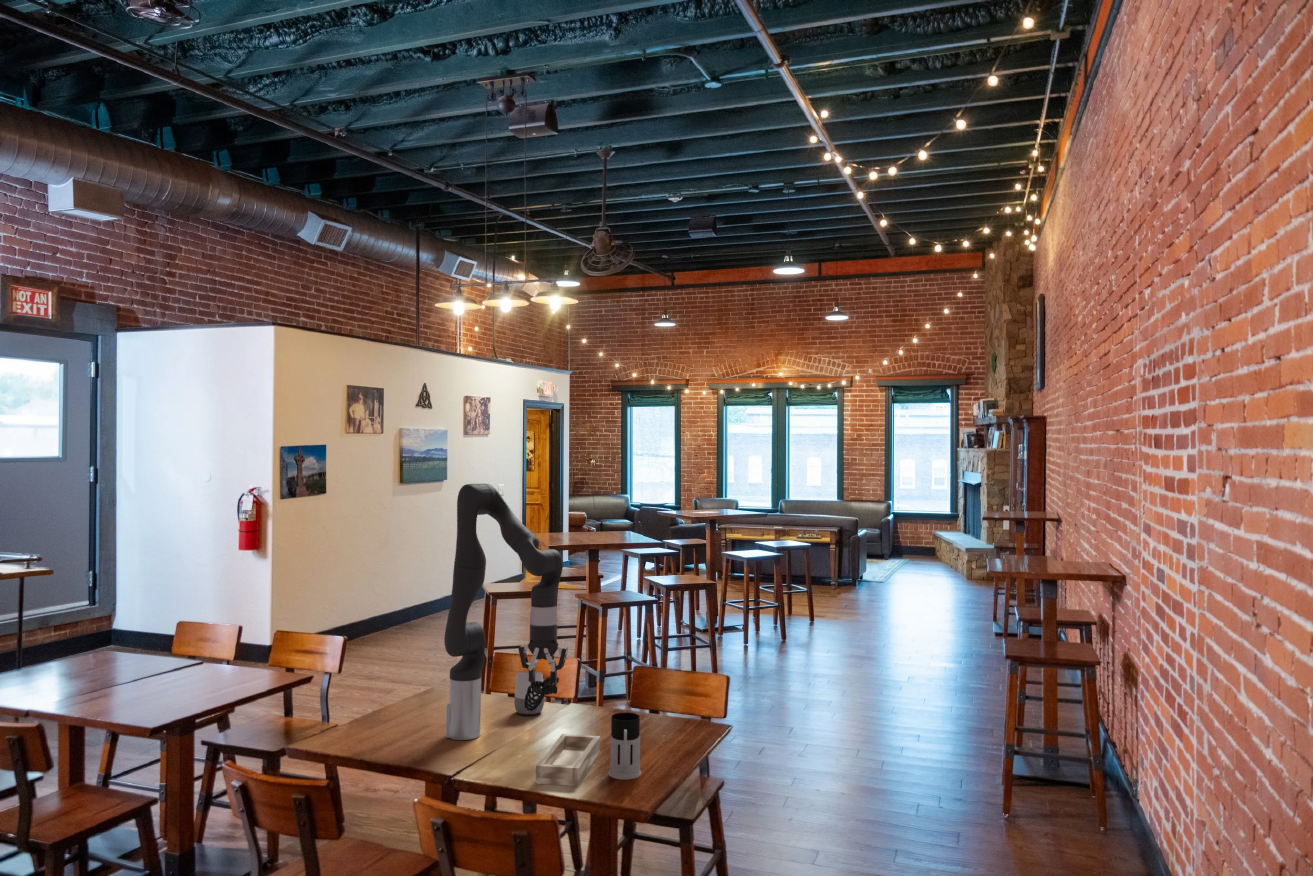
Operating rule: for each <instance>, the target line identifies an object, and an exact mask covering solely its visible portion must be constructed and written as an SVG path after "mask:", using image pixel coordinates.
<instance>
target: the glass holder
mask: <svg viewBox="0 0 1313 876" xmlns="http://www.w3.org/2000/svg"><path fill="white" fill-rule="evenodd" d="M610 718H611V719H610V720H611V724H610V725H611V726H610V727H611V730H610V739H609V740H610V743H609V745H610V748H609V750H610V752H609V770H608V776H609V777H610V778H613V779H615V780H616V779H617V780H633V779H637V778H639V777H641V776H642V771H641V768H640V767H641V766H640V765H641V732H640V728H641V727H640V722H641V720H640V719H641V716H640V715H639V714H638V713H633V712H618V713H617V712H616V713H614V714H612V715H611V717H610Z"/></svg>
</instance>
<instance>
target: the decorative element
mask: <svg viewBox="0 0 1313 876" xmlns="http://www.w3.org/2000/svg"><path fill="white" fill-rule="evenodd" d="M559 681H560V678H559V677H558V676H557V681H556V682H555V683H554V685H550V676H547V677H546V678H545V679H543V682H542V681H539V682H538V681H536V682H535V680H533V681H532V683H531V685H530V686H529V687H528V689H527V694H526V695H525V702H524V705H525V708H527V710H530V711H533V710H535V709H536V708H537V707H538V706H539V705H540V703H541V702H542V700H543V698H544V699H545V696H548V695H551V694H554V695H557V694H558V685H557V684H558V683H559ZM541 686H542V688H541ZM531 688H532V691H531ZM534 692H535V693H536V694H534ZM530 694H532V695H533V697H531V695H530ZM538 694H541V695H538ZM528 696H529V699H528ZM536 696H537V697H538V699H536V700H535V699H534V697H536ZM530 700H533V701H534V702H531V701H530ZM528 702H529V703H530V704H528ZM531 705H534V706H531ZM528 706H529V707H530V708H529V707H528Z"/></svg>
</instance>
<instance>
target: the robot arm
mask: <svg viewBox="0 0 1313 876" xmlns="http://www.w3.org/2000/svg"><path fill="white" fill-rule="evenodd" d="M456 501H457V502H456V525H457V526H456V541H455V542H456V545H455V555H454V563H453V571H452V573H453V574H452V586H451V587H452V589H451V596H450V605H449V610H448V615H447V620H446V625H445V631H444V649H445V651H446V653H447V655H449V656H450V657H452V658H453V657H455V658H457V657H461V659H460V660H459V661H457V663H456V664H455V665H453V666H452V667H451V668H450V670H449V692H448V693H449V697H448V699H449V700H448V701H449V702H448V704H447V705H446V720H445V721H446V723H445V725H446V727H445V728H446V730H445V736H446V737H445V738H448V739H451V740H454V741H455V740H456V741H467V740H468V741H469V740H475V739H477V738H479V737H480V736H481V728H482V727H481V722H482V721H481V720H482V719H481V716H482V715H481V714H482V713H481V712H482V671H483V668H484V666H485V665H484V664H485V654H486V653H485V652H486V651H485V650H486V634H485V630H484V627H482V625H481V624H480V623H478V622H477V621H472V622H467V621H468V620H467V619H468V614H469V611H470V609H471V606H472V605H473V602H474V601H475V600H476V597H477V596H478V595H479V593H480V591H481V589H482V588H483V585H484V583H485V578H486V577H485V576H486V570H487V569H486V568H487V567H486V566H487V558H486V554H485V552H484V549H483V547H482V544H481V542H480V540H479V537H478V535H477V534H478V533H477V523H478V522H477V519H478V516H480V515H481V516H482V515H488V516H490V517H491V518H492V519H494V520H495V521H496V523H498V525H499V529H500V533H501V537H502V538H503V540H504V541H505V543H506V544H507V545H508V546H509V547H510V548H511V549H512V550H513V551H514V552H515V553H516V554H517V555H518V557H519V559H520V562H521V563H522V565H523V567H524V569H525V570H526V572H528V573H529V574H530V575H532V576H533V577H534V576H535V577H541V578H540V581H539V582H538V583H536V584H534V585H533V586H532V587H531V593H530V597H531V599H530V600H531V601H530V602H531V603H530V604H531V606H530V610H529V611H530V612H529V642H528V644H526V645H524V644H522V645H519V647H518V653H519V657H520V658H519V659H520V662H521V666H522V668H523V669H527V671H528V672H529V682H531V683H532V681H533V680H535V672H536V669H535V668H536V665H537V663H538V661H539V660H545V661H547V664H548V665H549V667H550V674H549V677H550V685H554V683H555V682H556V681H557V677H558V671H560V670H562V669H563V668H564V667H565V664H566V659H567V655H568V651H569V648H568V647H567V646H561V645H559V643H558V619H559V618H558V609H557V603H558V602H557V600H558V599H557V597H558V596H557V595H558V594H557V591H558V588H559V585H560V580H561V576H562V572H563V567H564V563H563V557H562V555H561V553H560V552H559V551H558V550H557V549H553V548H549V549H542V550H541V549H540V550H539V547H540V542H539V539H538V538H537V536H535V534H533V532H532V531H531V530H530V529H529V528H527V526H525V524H523V523H522V522H521V520H520V519H519V518H518V517H517V516H516V515H515V513H514V512H513V510H512V509H511V507H510V506H509V504H508V503H507V502H506V501H505V499H504V498H503V497H502V495H501V494H500V492H499V491H498V490H497V489H496V488H495V487H494V486H493V485H492V484H490V483H466V484H464V485H462V486H461V488H460V489H459V491H458V495H457V500H456ZM557 651H558V654H559V655H560V656H559V660H558V663H557V661H556V657H555V653H557ZM528 652H530V653H531V654H532V657H531V659H530V662H529V658H528V655H527V653H528Z"/></svg>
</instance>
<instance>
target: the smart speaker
mask: <svg viewBox="0 0 1313 876" xmlns="http://www.w3.org/2000/svg"><path fill="white" fill-rule="evenodd" d="M536 681H538V682H539V681H542V682H543V681H544V678H543V672H538V671H537V672H536V671H535V682H536ZM530 685H531V682H529V671H527V672H516V678H515V689H514V709H515V711H516V713H518V714H519V715H521V716H526V715H530V716H535V715H538V714H540V713H542V711H543V709H544V705H545V697H544V698H543V700H542V702H541V703H540V705H539V706H538V707H537V708H536V709H535V710H533V711H530V710H527V708H525V705H524V702H525V695H526V694H527V689H528V687H529V686H530ZM541 688H542V686H541ZM531 691H532V688H531ZM534 694H536V693H535V692H534ZM530 695H531V697H533V695H532V694H530ZM538 695H541V694H538ZM528 699H529V696H528ZM534 699H535V700H536V699H538V697H537V696H536V697H534ZM530 701H531V702H534V701H533V700H530ZM528 704H530V703H529V702H528ZM531 706H534V705H531ZM528 707H529V706H528ZM529 708H530V707H529Z"/></svg>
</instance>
